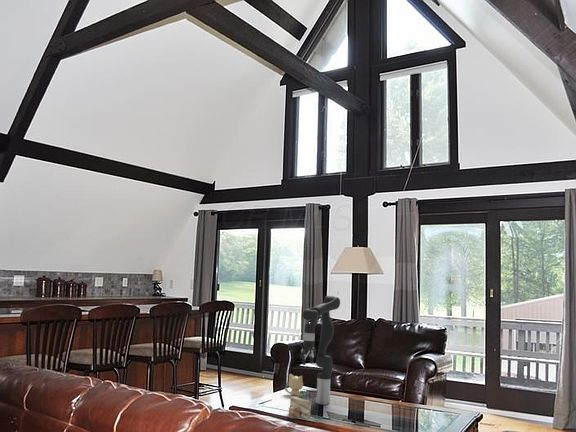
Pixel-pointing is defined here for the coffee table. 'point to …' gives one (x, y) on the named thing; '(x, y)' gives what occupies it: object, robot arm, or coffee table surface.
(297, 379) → the kitten
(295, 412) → the oak slotted rail
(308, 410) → the birch slotted plate
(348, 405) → the coffee table surface
